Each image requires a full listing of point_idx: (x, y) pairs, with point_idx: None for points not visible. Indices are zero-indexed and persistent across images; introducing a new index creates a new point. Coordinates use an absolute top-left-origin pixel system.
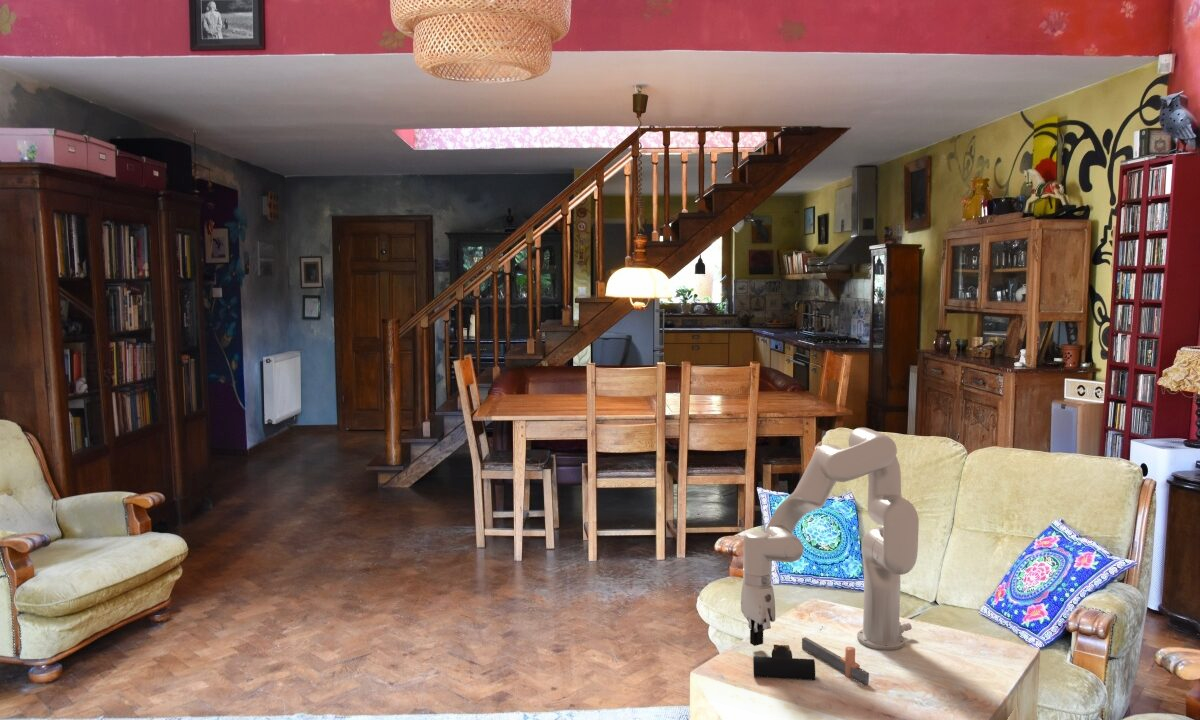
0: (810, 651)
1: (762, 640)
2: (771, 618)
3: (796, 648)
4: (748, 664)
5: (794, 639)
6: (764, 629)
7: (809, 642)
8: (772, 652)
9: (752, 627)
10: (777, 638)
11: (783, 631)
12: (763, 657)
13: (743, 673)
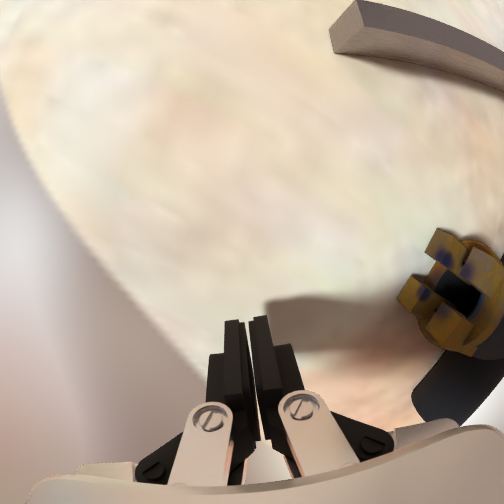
0: (410, 58)
1: (268, 330)
2: (439, 461)
3: (320, 78)
4: (361, 395)
5: (187, 22)
6: (322, 401)
7: (433, 43)
8: (447, 349)
9: (244, 454)
10: (129, 117)
11: (64, 51)
12: (473, 409)
13: (396, 414)
